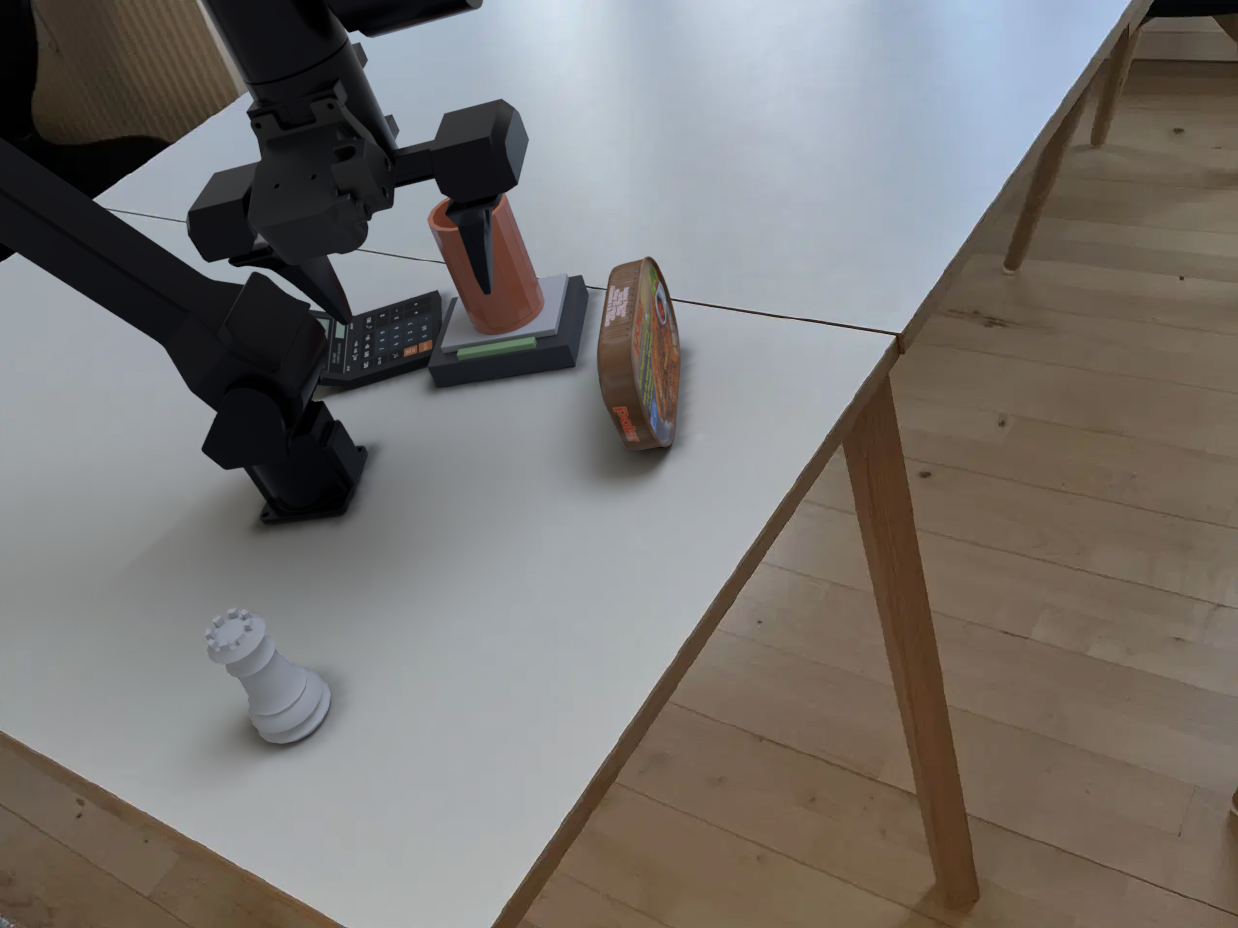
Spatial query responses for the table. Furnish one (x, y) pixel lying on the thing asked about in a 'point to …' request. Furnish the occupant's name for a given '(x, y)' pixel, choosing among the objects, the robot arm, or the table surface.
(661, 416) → the tin
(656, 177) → the table surface
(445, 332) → the scale
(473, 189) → the robot arm
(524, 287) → the cup
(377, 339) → the calculator
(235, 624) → the rook chess piece
